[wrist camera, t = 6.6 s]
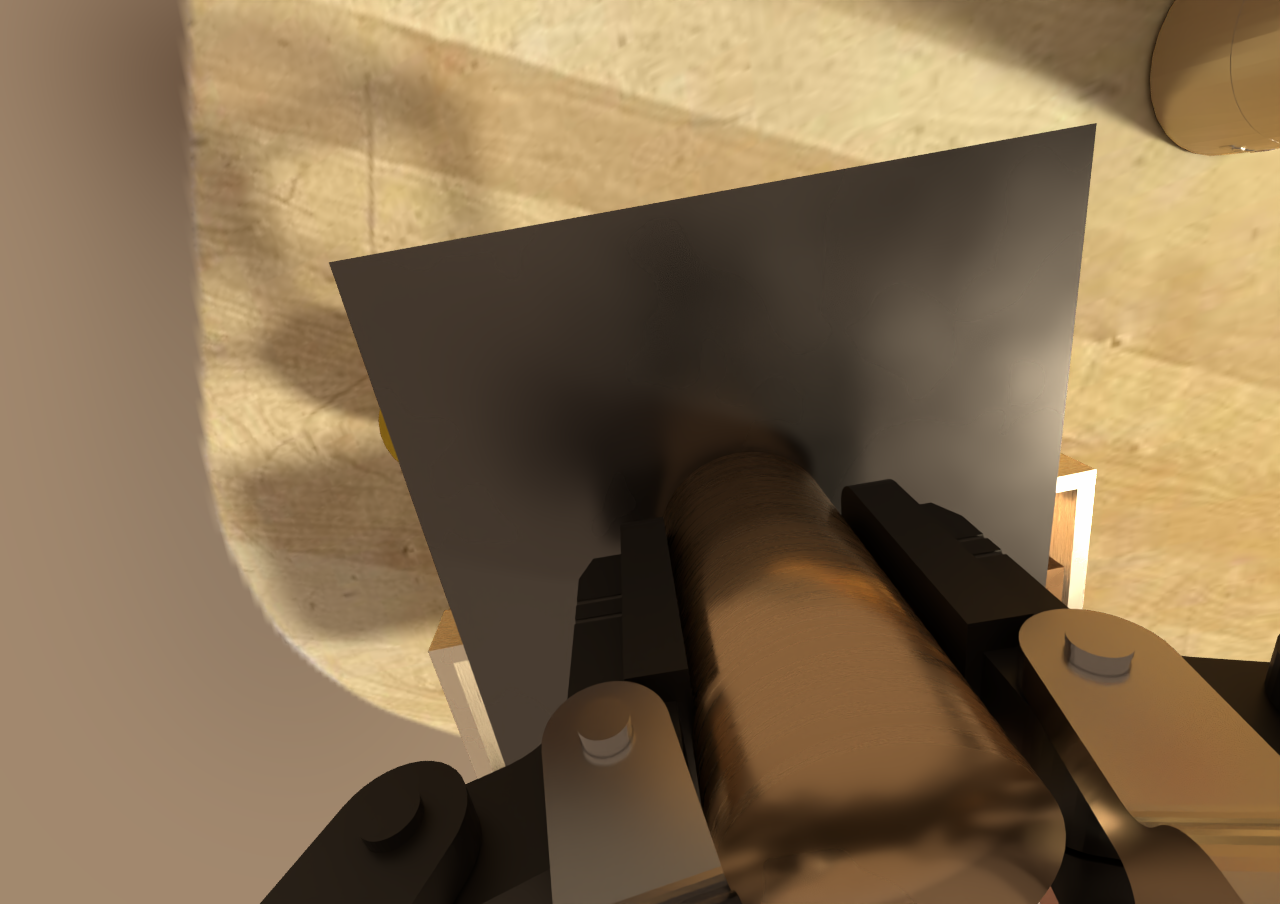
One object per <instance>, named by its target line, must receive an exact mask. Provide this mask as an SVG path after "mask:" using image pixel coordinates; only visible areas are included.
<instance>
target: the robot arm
mask: <svg viewBox="0 0 1280 904" xmlns="http://www.w3.org/2000/svg"><path fill="white" fill-rule="evenodd" d="M1150 87H1151V100H1152V104H1153V107H1154V110H1155V114H1156V117H1157V120H1158V121H1159V123H1160V125H1161V126H1162V128H1163V130H1164V131H1165V133H1166V134H1167V135H1168V136H1169V137H1170V138H1171V139H1172V140H1173V141H1174V142H1175V143H1176V144H1177V145H1178V146H1180V147H1182V148H1184V149H1186V150H1188V151H1190V152H1192V153H1197V154H1202V155H1208V156H1214V155H1226V154H1235V153H1244V152H1250V153H1253V152H1261V151H1269V150H1274V149H1278V148H1280V0H1175V1H1174V3H1173V4H1172V6H1171V8H1170V10H1169V12H1168V14H1167V16H1166V18H1165V21H1164V23H1163V25H1162V27H1161V29H1160V31H1159V35H1158V38H1157V42H1156V45H1155V49H1154V52H1153V56H1152V65H1151V74H1150ZM841 516H842V517H843V518H844V520H845V521H846V522H847V524H848V525H849V526H850V528H851V529H852V530H853V532H854V533H855V534H856V535H857V537H858V538H859V539H860V541H861V542H862V543H863V545H864V546H865V547H866V549H867V550H868V551H869V553H870V554H871V555H872V557H873V558H874V559H875V561H876V562H877V563H878V565H879V566H880V567H881V569H882V570H883V571H884V573H885V574H886V575H887V577H888V578H889V579H890V580H891V582H892V583H893V584H894V586H895V587H896V588H897V590H898V591H899V592H900V594H901V595H902V596H903V598H904V599H905V600H906V602H907V603H908V604H909V606H910V607H911V608H912V610H913V611H914V612H915V614H916V615H917V616H918V618H919V619H920V620H921V622H922V623H923V624H924V626H925V627H926V628H927V629H928V631H929V632H930V633H931V635H932V636H933V637H934V639H935V640H936V641H937V643H938V644H939V645H940V647H941V648H942V649H943V651H944V652H945V653H946V655H947V656H948V657H949V659H950V660H951V661H952V663H953V664H954V665H955V667H956V668H957V669H958V671H959V672H960V673H961V674H962V676H963V677H964V678H965V680H966V681H967V682H968V684H969V685H970V686H971V688H972V689H973V690H974V692H975V693H976V694H977V696H978V697H979V698H980V700H981V701H982V702H983V704H984V705H985V706H986V708H987V709H988V710H989V712H990V713H991V714H992V716H993V717H994V718H995V719H996V721H997V722H998V723H999V725H1000V726H1001V727H1002V729H1003V730H1004V731H1005V733H1006V734H1007V735H1008V737H1009V738H1010V739H1011V741H1012V742H1013V743H1014V745H1015V746H1016V747H1017V749H1018V750H1019V751H1020V753H1021V754H1022V755H1023V757H1024V758H1025V759H1026V761H1027V762H1028V763H1029V764H1030V766H1031V767H1032V768H1033V770H1034V771H1035V772H1036V774H1037V775H1038V776H1039V778H1040V779H1041V780H1042V782H1043V783H1044V784H1045V786H1046V787H1047V788H1048V790H1049V791H1050V792H1051V794H1052V796H1053V797H1054V799H1055V800H1056V802H1057V803H1058V805H1059V808H1060V810H1061V813H1062V816H1063V818H1064V824H1065V831H1066V841H1065V851H1064V855H1063V859H1062V863H1061V866H1060V868H1059V871H1058V873H1057V875H1056V877H1055V880H1054V881H1053V883H1052V884H1051V886H1050V888H1049V889H1048V891H1047V892H1046V894H1045V895H1044V896H1043V898H1042V899H1041V900H1040V901H1039V902H1040V904H1280V634H1279V636H1278V638H1277V641H1276V644H1275V648H1274V651H1273V654H1272V658H1271V661H1270V662H1257V661H1242V660H1228V659H1213V658H1199V657H1187V656H1181V655H1180V654H1179V653H1178V652H1177V651H1176V650H1175V649H1174V648H1172V647H1171V646H1170V645H1169V644H1168V643H1167V642H1166V641H1164V640H1163V639H1162V638H1160V637H1159V636H1157V635H1156V634H1154V633H1153V632H1151V631H1149V630H1147V629H1145V628H1144V627H1142V626H1140V625H1137V624H1135V623H1133V622H1131V621H1128V620H1125V619H1122V618H1120V617H1117V616H1113V615H1110V614H1106V613H1102V612H1096V611H1091V610H1083V609H1069V608H1068V607H1067V606H1066V605H1065V604H1064V603H1063V602H1061V601H1060V600H1059V599H1058V598H1057V597H1056V596H1054V595H1053V594H1052V593H1051V592H1050V591H1049V590H1047V589H1046V588H1045V587H1044V586H1043V585H1042V584H1041V583H1039V582H1038V581H1037V580H1036V579H1035V578H1034V577H1032V576H1031V575H1030V574H1029V573H1028V572H1027V571H1026V570H1024V569H1023V568H1022V567H1021V566H1020V565H1019V564H1017V563H1016V562H1015V561H1014V560H1013V559H1012V558H1011V557H1009V556H1008V555H1007V554H1002V550H1001V549H1000V548H999V547H998V546H997V545H996V544H994V543H993V542H992V541H991V540H990V539H989V538H984V535H983V533H982V532H980V531H979V530H978V529H977V528H976V527H975V526H974V525H972V524H971V523H970V522H969V521H968V520H967V519H965V518H964V517H963V516H962V515H959V514H957V513H955V512H952V511H950V510H948V509H945V508H943V507H941V506H938V505H936V504H934V503H925V504H919V503H918V502H917V501H915V500H914V499H913V498H912V497H911V496H910V495H909V494H908V493H907V492H906V491H905V490H904V489H903V488H902V487H901V486H900V485H899V484H898V483H897V482H895V481H894V480H892V479H885V480H879V481H873V482H867V483H861V484H855V485H850V486H845V487H844V488H843V490H842V493H841ZM620 539H621V554H618V555H612V556H606V557H600V558H594V559H593V560H592V561H591V562H590V564H589V565H588V567H587V568H586V570H585V571H584V572H583V574H582V575H581V577H580V578H579V582H578V593H577V605H576V614H575V624H574V634H573V645H572V655H571V666H570V676H569V687H568V697H567V700H566V701H565V702H564V703H563V704H561V705H560V706H559V707H558V709H557V710H556V711H555V712H554V713H553V715H552V716H551V718H550V719H549V721H548V723H547V725H546V727H545V730H544V733H543V737H542V744H540V745H539V746H538V747H537V748H536V749H534V750H533V751H532V752H530V753H529V754H527V755H526V756H524V757H523V758H521V759H519V760H517V761H515V762H513V763H512V764H510V765H507V766H505V767H503V768H501V769H499V770H496V771H494V772H492V773H490V774H488V775H485V776H483V777H481V778H479V779H476V780H474V781H472V782H470V783H468V784H465V783H464V781H463V778H462V777H461V775H460V774H459V773H458V772H457V770H455V769H454V768H452V767H451V766H449V765H447V764H444V763H442V762H435V761H420V762H414V763H409V764H406V765H403V766H400V767H397V768H395V769H393V770H390V771H388V772H386V773H384V774H383V775H381V776H379V777H378V778H376V779H374V780H373V781H372V782H370V783H369V784H367V785H366V786H364V787H363V788H362V789H361V790H360V791H359V792H357V793H356V794H355V795H354V796H353V797H352V798H351V799H350V800H349V801H348V802H347V803H346V804H345V805H344V806H343V807H342V809H341V810H340V811H339V812H338V813H337V814H336V816H335V817H334V818H333V819H332V820H331V821H330V823H329V824H328V825H327V826H326V827H325V829H324V830H323V831H322V832H321V833H320V834H319V835H318V837H317V838H316V839H315V840H314V841H313V842H312V844H311V845H310V846H309V847H308V848H307V850H306V851H305V852H304V853H303V854H302V855H301V857H300V858H299V859H298V860H297V861H296V862H295V863H294V865H293V866H292V867H291V868H290V869H289V870H288V872H287V873H286V874H285V875H284V876H283V877H282V879H281V880H280V881H279V882H278V883H277V884H276V886H275V887H274V888H273V889H272V890H271V891H270V893H269V894H268V895H267V896H266V897H265V898H264V900H263V901H262V902H261V903H260V904H742V902H741V900H740V898H739V896H738V894H737V892H736V891H735V890H732V891H731V889H730V887H729V885H728V883H727V880H726V878H725V875H724V872H723V869H722V867H721V864H720V861H719V858H718V855H717V852H716V849H715V846H714V843H713V840H712V837H711V834H710V832H709V829H708V826H707V823H706V820H705V817H704V814H703V811H702V807H701V800H700V793H699V786H698V779H697V773H696V766H695V759H694V752H693V743H692V728H693V720H694V716H695V713H696V711H695V705H694V699H693V693H692V687H691V681H690V675H689V669H688V662H687V656H686V650H685V644H684V638H683V632H682V626H681V620H680V614H679V608H678V602H677V596H676V590H675V584H674V578H673V572H672V565H671V559H670V553H669V547H668V541H667V535H666V530H665V524H664V518H663V517H658V518H652V519H646V520H640V521H634V522H628V523H622V524H620Z"/></svg>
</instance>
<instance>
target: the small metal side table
mask: <svg viewBox="0 0 1280 904" xmlns="http://www.w3.org/2000/svg"><path fill="white" fill-rule="evenodd" d="M1096 124H1097V123H1095V124H1089V125H1084V126H1078V127H1073V128H1067V129H1062V130H1056V131H1051V132H1045V133H1040V134H1034V135H1029V136H1023V137H1018V138H1012V139H1007V140H1001V141H996V142H990V143H985V144H979V145H974V146H968V147H963V148H957V149H952V150H946V151H940V152H935V153H929V154H924V155H918V156H913V157H907V158H902V159H896V160H891V161H885V162H880V163H874V164H869V165H863V166H858V167H852V168H847V169H841V170H836V171H830V172H825V173H819V174H814V175H808V176H803V177H797V178H792V179H786V180H781V181H775V182H770V183H764V184H759V185H753V186H748V187H742V188H737V189H731V190H726V191H720V192H715V193H709V194H704V195H698V196H692V197H687V198H681V199H676V200H670V201H665V202H659V203H654V204H648V205H643V206H637V207H632V208H626V209H621V210H615V211H610V212H604V213H599V214H593V215H588V216H582V217H577V218H571V219H566V220H560V221H555V222H549V223H544V224H538V225H533V226H527V227H522V228H516V229H511V230H505V231H500V232H494V233H489V234H483V235H478V236H472V237H467V238H461V239H456V240H450V241H445V242H439V243H433V244H428V245H422V246H417V247H411V248H406V249H400V250H395V251H389V252H384V253H378V254H373V255H367V256H362V257H356V258H351V259H345V260H340V261H334V262H329V264H330V267H331V270H332V273H333V276H334V278H335V281H336V284H337V287H338V290H339V293H340V295H341V298H342V301H343V304H344V307H345V310H346V313H347V315H348V318H349V321H350V324H351V327H352V330H353V333H354V335H355V338H356V341H357V344H358V347H359V350H360V353H361V355H362V358H363V361H364V364H365V367H366V370H367V372H368V375H369V378H370V381H371V384H372V387H373V390H374V392H375V395H376V398H377V401H378V404H379V407H380V410H381V412H382V415H383V418H384V421H385V424H386V427H387V430H388V432H389V435H390V438H391V441H392V444H393V447H394V449H395V452H396V455H397V458H398V461H399V464H400V467H401V469H402V472H403V475H404V478H405V481H406V484H407V487H408V489H409V492H410V495H411V498H412V501H413V504H414V506H415V509H416V512H417V515H418V518H419V521H420V524H421V526H422V529H423V532H424V535H425V538H426V541H427V544H428V546H429V549H430V552H431V555H432V558H433V561H434V564H435V566H436V569H437V572H438V575H439V578H440V581H441V583H442V586H443V589H444V592H445V595H446V598H447V601H448V603H449V606H450V609H451V612H452V615H453V618H454V621H455V623H456V626H457V629H458V632H459V635H460V638H461V641H462V643H463V646H464V649H465V652H466V655H467V658H468V660H469V663H470V666H471V669H472V672H473V675H474V678H475V680H476V683H477V686H478V689H479V692H480V695H481V698H482V700H483V703H484V706H485V709H486V712H487V715H488V718H489V720H490V723H491V726H492V729H493V732H494V735H495V737H496V740H497V743H498V746H499V749H500V752H501V755H502V757H503V760H504V763H505V766H507V765H510V764H512V763H513V762H515V761H517V760H519V759H521V758H523V757H524V756H526V755H527V754H529V753H530V752H532V751H533V750H534V749H536V748H537V747H538V746H539V745H540V744H542V737H543V733H544V730H545V727H546V725H547V723H548V721H549V719H550V718H551V716H552V715H553V713H554V712H555V711H556V710H557V709H558V707H559V706H560V705H561V704H563V703H564V702H565V701H566V700H567V697H568V687H569V676H570V666H571V655H572V645H573V634H574V624H575V614H576V605H577V593H578V582H579V578H580V577H581V575H582V574H583V572H584V571H585V570H586V568H587V567H588V565H589V564H590V562H591V561H592V560H593V559H594V558H600V557H606V556H612V555H618V554H621V539H620V524H622V523H628V522H634V521H640V520H646V519H652V518H658V517H663V518H664V524H665V530H666V535H667V541H668V547H669V553H670V559H671V565H672V572H673V578H674V584H675V590H676V596H677V602H678V608H679V614H680V620H681V626H682V632H683V638H684V644H685V650H686V656H687V662H688V669H689V675H690V681H691V687H692V693H693V699H694V705H695V711H696V713H695V716H694V720H693V728H692V743H693V752H694V759H695V766H696V773H697V779H698V786H699V793H700V800H701V807H702V811H703V814H704V817H705V820H706V823H707V826H708V829H709V832H710V834H711V837H712V840H713V843H714V846H715V849H716V852H717V855H718V858H719V861H720V864H721V867H722V869H723V872H724V875H725V878H726V880H727V883H728V885H729V887H730V889H731V891H732V890H735V891H736V892H737V894H738V896H739V898H740V900H741V902H742V904H1038V902H1039V901H1040V900H1041V899H1042V898H1043V896H1044V895H1045V894H1046V892H1047V891H1048V889H1049V888H1050V886H1051V884H1052V883H1053V881H1054V880H1055V877H1056V875H1057V873H1058V871H1059V868H1060V866H1061V863H1062V859H1063V855H1064V851H1065V841H1066V831H1065V824H1064V818H1063V816H1062V813H1061V810H1060V808H1059V805H1058V803H1057V802H1056V800H1055V799H1054V797H1053V796H1052V794H1051V792H1050V791H1049V790H1048V788H1047V787H1046V786H1045V784H1044V783H1043V782H1042V780H1041V779H1040V778H1039V776H1038V775H1037V774H1036V772H1035V771H1034V770H1033V768H1032V767H1031V766H1030V764H1029V763H1028V762H1027V761H1026V759H1025V758H1024V757H1023V755H1022V754H1021V753H1020V751H1019V750H1018V749H1017V747H1016V746H1015V745H1014V743H1013V742H1012V741H1011V739H1010V738H1009V737H1008V735H1007V734H1006V733H1005V731H1004V730H1003V729H1002V727H1001V726H1000V725H999V723H998V722H997V721H996V719H995V718H994V717H993V716H992V714H991V713H990V712H989V710H988V709H987V708H986V706H985V705H984V704H983V702H982V701H981V700H980V698H979V697H978V696H977V694H976V693H975V692H974V690H973V689H972V688H971V686H970V685H969V684H968V682H967V681H966V680H965V678H964V677H963V676H962V674H961V673H960V672H959V671H958V669H957V668H956V667H955V665H954V664H953V663H952V661H951V660H950V659H949V657H948V656H947V655H946V653H945V652H944V651H943V649H942V648H941V647H940V645H939V644H938V643H937V641H936V640H935V639H934V637H933V636H932V635H931V633H930V632H929V631H928V629H927V628H926V627H925V626H924V624H923V623H922V622H921V620H920V619H919V618H918V616H917V615H916V614H915V612H914V611H913V610H912V608H911V607H910V606H909V604H908V603H907V602H906V600H905V599H904V598H903V596H902V595H901V594H900V592H899V591H898V590H897V588H896V587H895V586H894V584H893V583H892V582H891V580H890V579H889V578H888V577H887V575H886V574H885V573H884V571H883V570H882V569H881V567H880V566H879V565H878V563H877V562H876V561H875V559H874V558H873V557H872V555H871V554H870V553H869V551H868V550H867V549H866V547H865V546H864V545H863V543H862V542H861V541H860V539H859V538H858V537H857V535H856V534H855V533H854V532H853V530H852V529H851V528H850V526H849V525H848V524H847V522H846V521H845V520H844V518H843V517H842V516H841V493H842V490H843V488H844V487H845V486H850V485H855V484H861V483H867V482H873V481H879V480H885V479H892V480H894V481H895V482H897V483H898V484H899V485H900V486H901V487H902V488H903V489H904V490H905V491H906V492H907V493H908V494H909V495H910V496H911V497H912V498H913V499H914V500H915V501H917V502H918V503H919V504H925V503H934V504H936V505H938V506H941V507H943V508H945V509H948V510H950V511H952V512H955V513H957V514H959V515H962V516H963V517H964V518H965V519H967V520H968V521H969V522H970V523H971V524H972V525H974V526H975V527H976V528H977V529H978V530H979V531H980V532H982V533H983V535H984V538H989V539H990V540H991V541H992V542H993V543H994V544H996V545H997V546H998V547H999V548H1000V549H1001V550H1002V554H1007V555H1008V556H1009V557H1011V558H1012V559H1013V560H1014V561H1015V562H1016V563H1017V564H1019V565H1020V566H1021V567H1022V568H1023V569H1024V570H1026V571H1027V572H1028V573H1029V574H1030V575H1031V576H1032V577H1034V578H1035V579H1036V580H1037V581H1038V582H1039V583H1041V584H1042V585H1043V586H1044V587H1045V588H1046V579H1047V570H1048V560H1049V551H1050V542H1051V533H1052V524H1053V515H1054V506H1055V497H1056V488H1057V479H1058V469H1059V460H1060V451H1061V442H1062V433H1063V424H1064V415H1065V406H1066V397H1067V387H1068V378H1069V369H1070V360H1071V351H1072V342H1073V333H1074V324H1075V315H1076V306H1077V296H1078V287H1079V278H1080V269H1081V260H1082V251H1083V242H1084V233H1085V224H1086V215H1087V205H1088V196H1089V187H1090V178H1091V169H1092V160H1093V151H1094V142H1095V133H1096Z"/></svg>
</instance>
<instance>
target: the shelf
mask: <svg viewBox="0 0 1280 904" xmlns="http://www.w3.org/2000/svg"><path fill="white" fill-rule="evenodd" d="M1095 479H1096V469H1094V468H1092V467H1090V466H1088V465H1085V464H1083V463H1081V462H1079V461H1077V460H1075V459H1073V458H1071V457H1069V456H1066V455H1064V454H1062V453H1060V460H1059V469H1058V479H1057V488H1056V497H1055V506H1054V515H1053V524H1052V533H1051V542H1050V551H1049V560H1048V570H1047V579H1046V589H1047V590H1049V591H1050V592H1051V593H1052V594H1053V595H1054V596H1056V597H1057V598H1058V599H1059V600H1060V601H1061V602H1063V603H1064V604H1065V605H1066V606H1067V607H1068V608H1069V609H1083V600H1084V590H1085V580H1086V570H1087V560H1088V549H1089V539H1090V529H1091V519H1092V509H1093V499H1094V489H1095ZM428 653H429V655H430V658H431V660H432V663H433V665H434V668H435V671H436V673H437V676H438V678H439V681H440V684H441V686H442V689H443V691H444V694H445V696H446V699H447V702H448V704H449V707H450V709H451V712H452V714H453V717H454V720H455V722H456V725H457V727H458V730H459V732H460V735H461V738H462V740H463V743H464V745H465V748H466V750H467V753H468V756H469V758H470V761H471V763H472V766H473V768H474V771H475V774H476V776H477V779H479V778H481V777H483V776H485V775H488V774H490V773H492V772H494V771H496V770H499V769H501V768H503V767H505V763H504V760H503V757H502V755H501V752H500V749H499V746H498V743H497V740H496V737H495V735H494V732H493V729H492V726H491V723H490V720H489V718H488V715H487V712H486V709H485V706H484V703H483V700H482V698H481V695H480V692H479V689H478V686H477V683H476V680H475V678H474V675H473V672H472V669H471V666H470V663H469V660H468V658H467V655H466V652H465V649H464V646H463V643H462V641H461V638H460V635H459V632H458V629H457V626H456V623H455V621H454V618H453V615H452V612H451V609H449V610H445V611H444V613H443V616H442V618H441V621H440V623H439V626H438V628H437V631H436V633H435V636H434V638H433V641H432V643H431V645H430V648H429V650H428Z"/></svg>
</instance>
